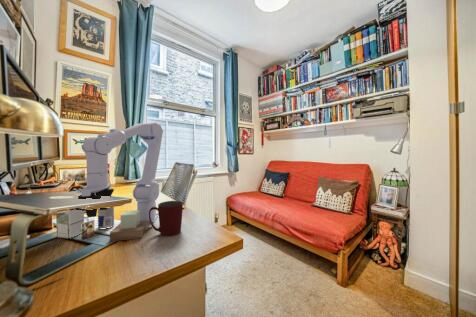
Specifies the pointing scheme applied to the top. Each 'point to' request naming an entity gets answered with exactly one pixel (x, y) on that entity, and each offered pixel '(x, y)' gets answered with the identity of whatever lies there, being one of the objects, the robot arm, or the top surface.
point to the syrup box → (69, 223)
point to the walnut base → (129, 232)
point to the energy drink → (106, 218)
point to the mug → (169, 217)
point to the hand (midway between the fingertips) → (97, 213)
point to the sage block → (130, 219)
